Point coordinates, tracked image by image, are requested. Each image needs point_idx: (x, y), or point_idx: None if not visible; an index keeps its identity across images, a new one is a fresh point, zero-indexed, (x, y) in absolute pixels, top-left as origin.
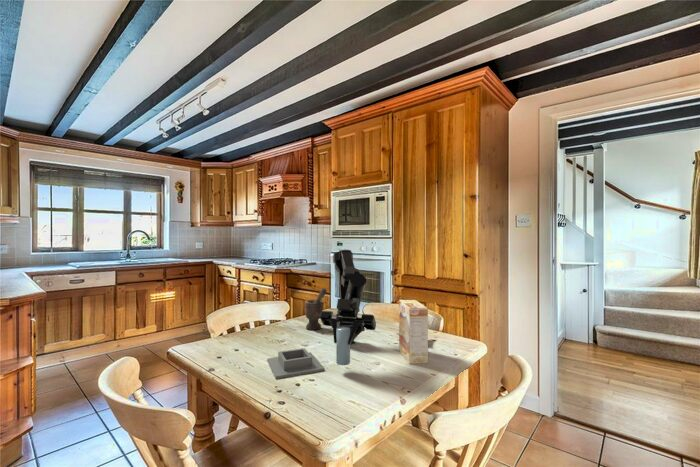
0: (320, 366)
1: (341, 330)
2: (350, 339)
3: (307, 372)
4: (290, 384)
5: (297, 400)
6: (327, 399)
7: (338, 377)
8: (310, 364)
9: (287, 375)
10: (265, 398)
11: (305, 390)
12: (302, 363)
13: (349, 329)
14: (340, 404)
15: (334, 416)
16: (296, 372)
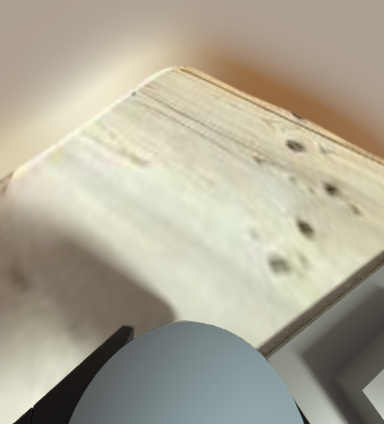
0: (292, 380)
1: (202, 330)
2: (105, 347)
3: (319, 315)
4: (326, 226)
5: (265, 155)
6: (199, 164)
7: (193, 297)
8: (342, 374)
9: (371, 274)
10: (339, 157)
11: (268, 198)
12: (375, 351)
13: (72, 419)
14: (165, 148)
15: (172, 113)
16: (355, 295)
